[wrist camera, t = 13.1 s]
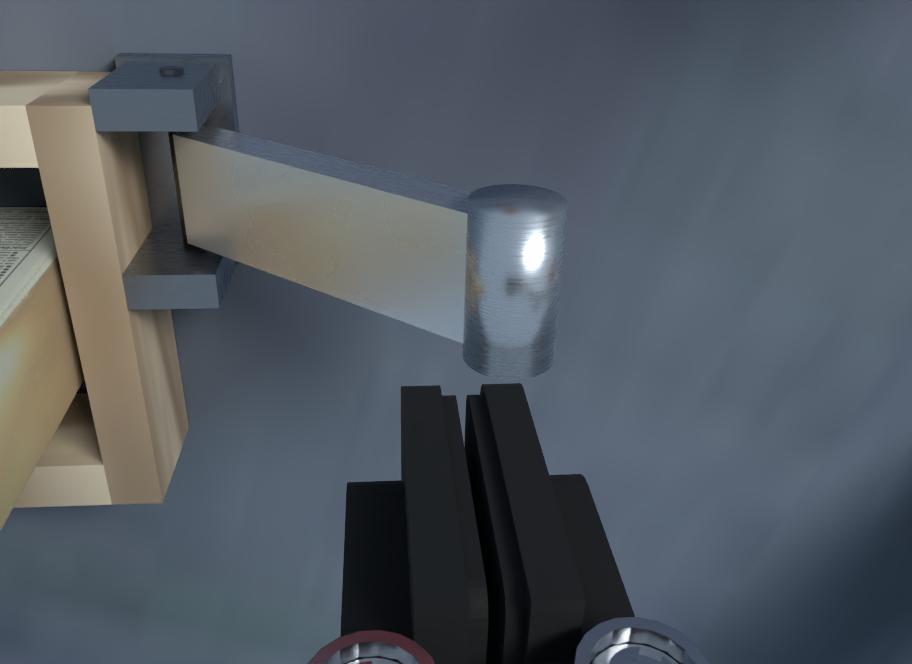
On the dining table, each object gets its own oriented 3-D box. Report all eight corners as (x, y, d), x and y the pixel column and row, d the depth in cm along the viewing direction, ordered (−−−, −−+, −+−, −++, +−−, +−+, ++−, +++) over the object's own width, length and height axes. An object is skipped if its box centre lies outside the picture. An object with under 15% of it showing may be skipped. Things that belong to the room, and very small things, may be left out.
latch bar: (585, 198, 17) (535, 225, 16) (569, 351, 19) (523, 389, 17) (220, 111, 22) (157, 126, 21) (233, 236, 24) (177, 257, 23)
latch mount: (231, 54, 23) (204, 85, 20) (251, 253, 26) (231, 311, 23) (120, 53, 23) (73, 84, 20) (152, 254, 26) (116, 312, 22)
